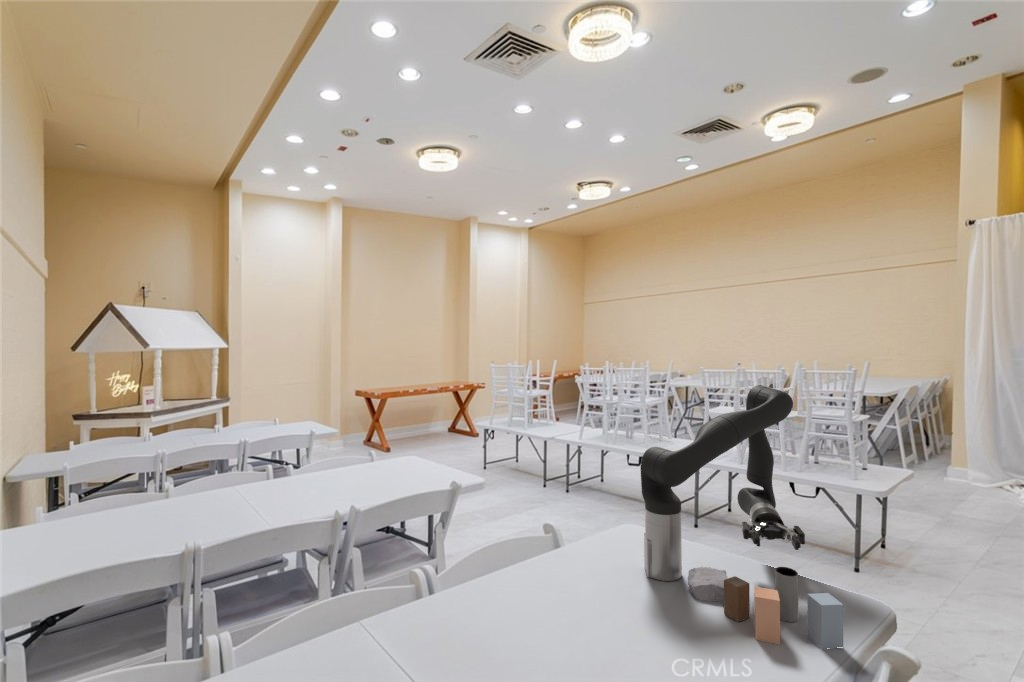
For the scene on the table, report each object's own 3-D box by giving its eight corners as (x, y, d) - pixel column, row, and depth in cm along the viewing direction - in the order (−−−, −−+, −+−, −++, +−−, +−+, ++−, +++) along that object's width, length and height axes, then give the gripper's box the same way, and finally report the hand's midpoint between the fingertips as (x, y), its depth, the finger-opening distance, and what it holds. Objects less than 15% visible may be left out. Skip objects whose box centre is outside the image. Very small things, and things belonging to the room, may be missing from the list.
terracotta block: (755, 639, 105) (755, 596, 105) (754, 627, 109) (754, 586, 109) (780, 644, 103) (779, 600, 103) (777, 632, 107) (777, 590, 107)
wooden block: (738, 623, 111) (738, 587, 111) (723, 614, 115) (722, 579, 114) (750, 618, 113) (750, 582, 113) (735, 609, 116) (734, 575, 116)
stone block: (693, 607, 121) (737, 603, 119) (688, 587, 121) (732, 583, 119) (687, 585, 133) (727, 581, 130) (683, 567, 133) (723, 562, 131)
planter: (795, 613, 115) (795, 568, 114) (800, 623, 110) (800, 577, 110) (773, 609, 116) (773, 565, 116) (777, 620, 112) (776, 574, 112)
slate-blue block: (821, 649, 101) (821, 605, 101) (807, 636, 106) (807, 593, 106) (843, 648, 102) (843, 604, 101) (828, 635, 106) (828, 593, 106)
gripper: (737, 504, 142) (745, 526, 126) (794, 508, 138) (809, 531, 122) (738, 531, 142) (746, 556, 127) (794, 535, 138) (810, 562, 122)
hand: (777, 544), depth 124 cm, fingers open, 8 cm apart
